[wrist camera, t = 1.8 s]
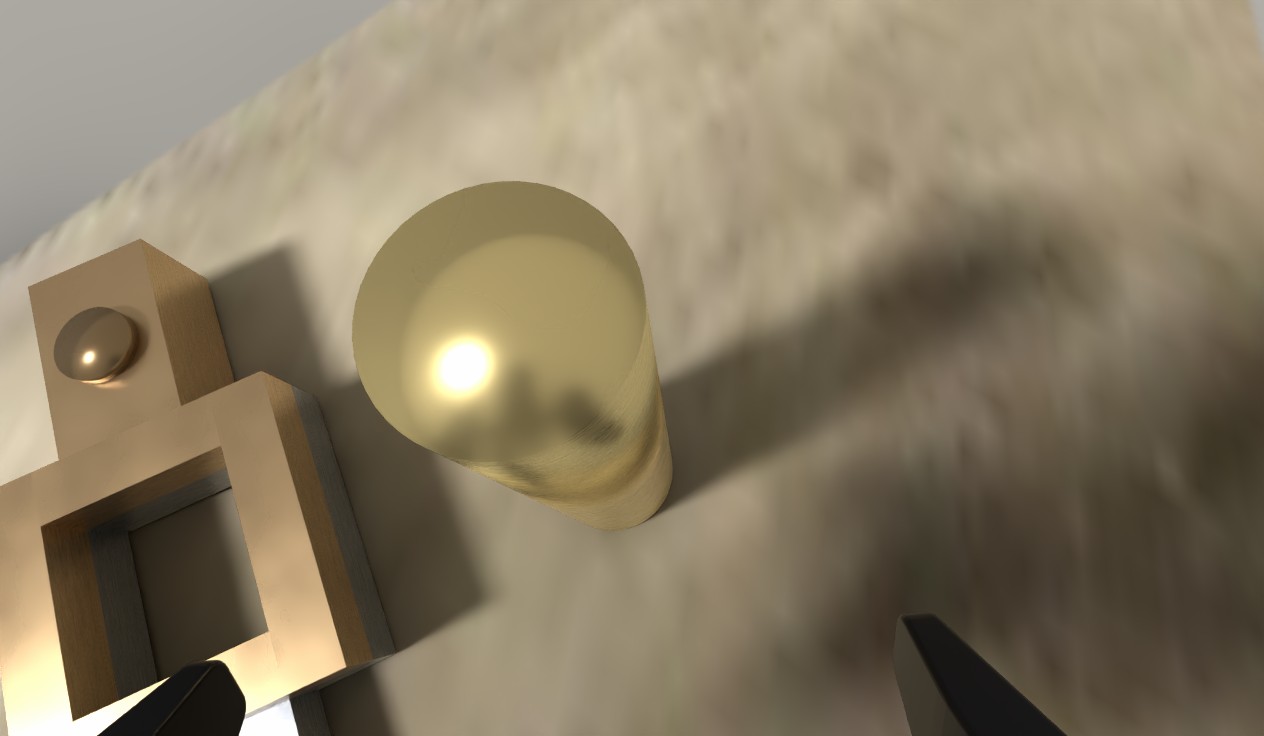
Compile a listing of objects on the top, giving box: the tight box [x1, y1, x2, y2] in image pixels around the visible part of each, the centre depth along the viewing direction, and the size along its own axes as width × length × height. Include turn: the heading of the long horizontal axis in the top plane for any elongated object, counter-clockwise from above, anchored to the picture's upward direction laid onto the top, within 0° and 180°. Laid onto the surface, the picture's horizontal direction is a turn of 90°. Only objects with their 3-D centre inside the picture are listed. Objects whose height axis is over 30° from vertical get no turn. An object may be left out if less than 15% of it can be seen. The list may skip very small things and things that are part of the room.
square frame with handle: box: [0, 239, 396, 736], centre depth 18 cm, size 24×8×3 cm, turn 24°
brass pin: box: [352, 181, 673, 531], centre depth 14 cm, size 4×4×13 cm
